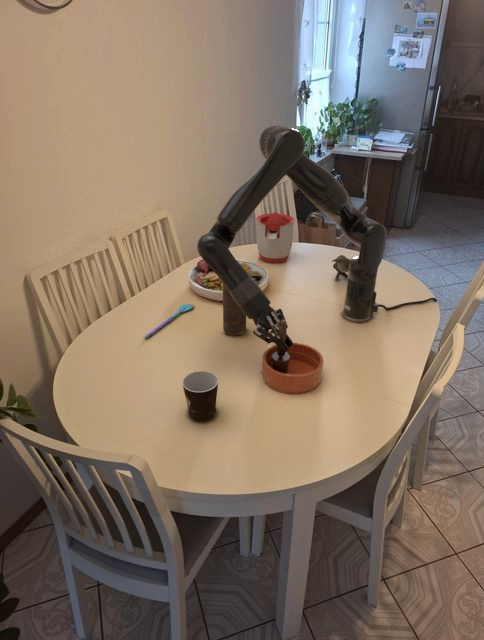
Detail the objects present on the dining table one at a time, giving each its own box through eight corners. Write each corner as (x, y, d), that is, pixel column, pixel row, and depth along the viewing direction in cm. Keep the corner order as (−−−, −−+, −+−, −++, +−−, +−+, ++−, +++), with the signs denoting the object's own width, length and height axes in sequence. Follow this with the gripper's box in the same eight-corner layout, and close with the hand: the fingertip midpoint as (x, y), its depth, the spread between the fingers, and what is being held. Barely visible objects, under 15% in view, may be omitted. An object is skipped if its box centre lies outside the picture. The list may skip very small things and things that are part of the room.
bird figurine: (341, 264, 203) (336, 232, 186) (363, 270, 199) (361, 237, 182) (328, 290, 198) (322, 259, 181) (351, 296, 194) (347, 265, 177)
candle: (243, 339, 153) (243, 281, 142) (220, 336, 154) (218, 278, 144) (248, 327, 160) (249, 270, 149) (226, 324, 161) (225, 268, 150)
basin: (308, 356, 146) (309, 339, 143) (330, 388, 133) (333, 370, 130) (255, 364, 142) (255, 346, 139) (272, 399, 129) (273, 380, 125)
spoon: (185, 304, 172) (185, 301, 171) (195, 306, 171) (195, 303, 170) (144, 338, 152) (144, 335, 152) (156, 341, 151) (155, 337, 150)
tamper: (285, 363, 141) (288, 314, 132) (291, 373, 137) (295, 323, 128) (269, 366, 140) (271, 317, 131) (274, 376, 136) (277, 326, 127)
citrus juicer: (251, 265, 203) (252, 217, 192) (259, 249, 217) (259, 204, 206) (289, 268, 201) (292, 220, 190) (294, 252, 215) (296, 207, 204)
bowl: (283, 282, 189) (283, 263, 185) (238, 313, 168) (238, 292, 163) (220, 264, 202) (219, 246, 198) (171, 291, 181) (170, 271, 177)
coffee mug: (185, 402, 126) (183, 371, 121) (219, 401, 127) (218, 370, 122) (183, 433, 117) (180, 401, 111) (219, 432, 117) (218, 399, 112)
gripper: (245, 301, 123) (286, 355, 125) (270, 281, 134) (308, 331, 136) (227, 314, 128) (267, 366, 130) (253, 294, 139) (290, 342, 141)
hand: (288, 348), depth 133 cm, fingers closed on tamper
